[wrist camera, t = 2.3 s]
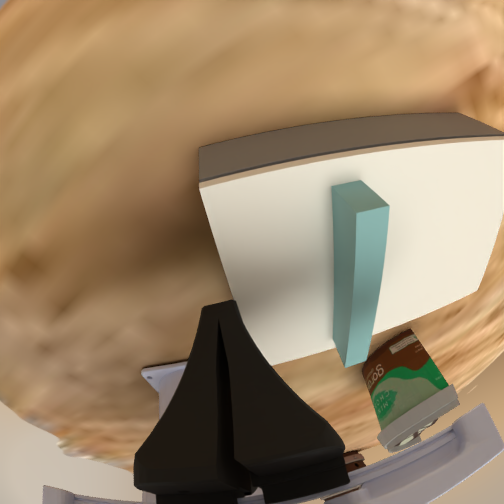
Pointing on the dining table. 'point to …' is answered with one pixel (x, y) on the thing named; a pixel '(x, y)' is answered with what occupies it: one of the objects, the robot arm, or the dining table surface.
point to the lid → (355, 240)
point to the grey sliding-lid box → (333, 140)
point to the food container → (406, 391)
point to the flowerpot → (352, 464)
